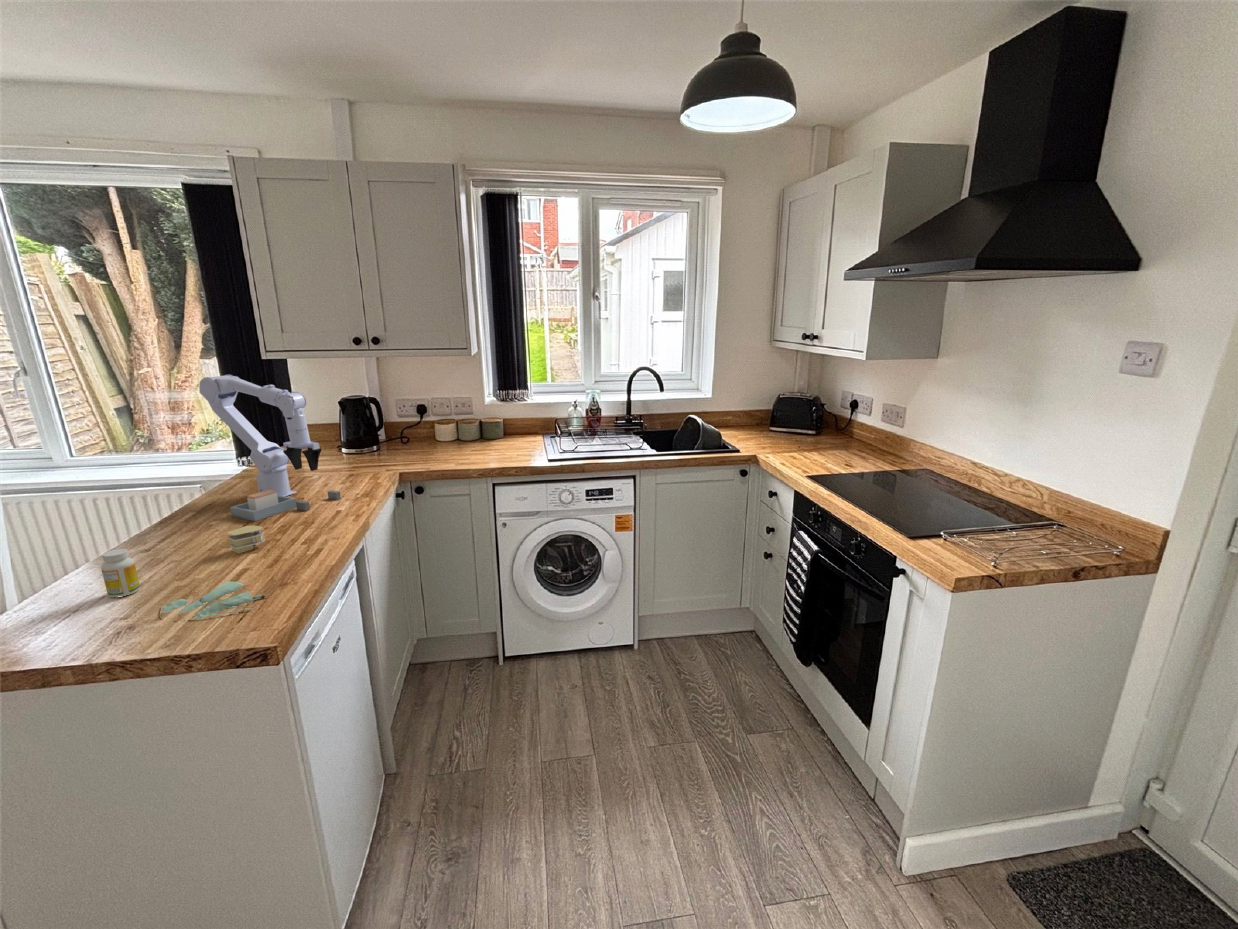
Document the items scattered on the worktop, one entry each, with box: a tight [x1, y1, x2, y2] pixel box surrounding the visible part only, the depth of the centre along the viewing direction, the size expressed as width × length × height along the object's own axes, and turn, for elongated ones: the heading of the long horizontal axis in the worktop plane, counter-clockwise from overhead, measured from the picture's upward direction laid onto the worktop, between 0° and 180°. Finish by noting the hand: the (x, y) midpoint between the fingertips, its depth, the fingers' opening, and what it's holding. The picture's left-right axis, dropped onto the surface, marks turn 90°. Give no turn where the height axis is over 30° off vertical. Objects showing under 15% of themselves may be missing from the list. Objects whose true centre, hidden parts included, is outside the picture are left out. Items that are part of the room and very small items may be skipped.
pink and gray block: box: [246, 490, 279, 511], centre depth 169 cm, size 4×7×6 cm, turn 157°
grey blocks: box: [296, 489, 342, 512], centre depth 176 cm, size 4×13×2 cm, turn 157°
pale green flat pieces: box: [161, 580, 266, 619], centre depth 116 cm, size 20×22×2 cm
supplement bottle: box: [100, 548, 141, 598], centre depth 118 cm, size 5×5×10 cm
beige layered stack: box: [226, 525, 266, 555], centre depth 142 cm, size 10×9×6 cm
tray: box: [229, 495, 297, 522], centre depth 169 cm, size 11×14×3 cm
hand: (306, 469), depth 182 cm, fingers open, 7 cm apart
